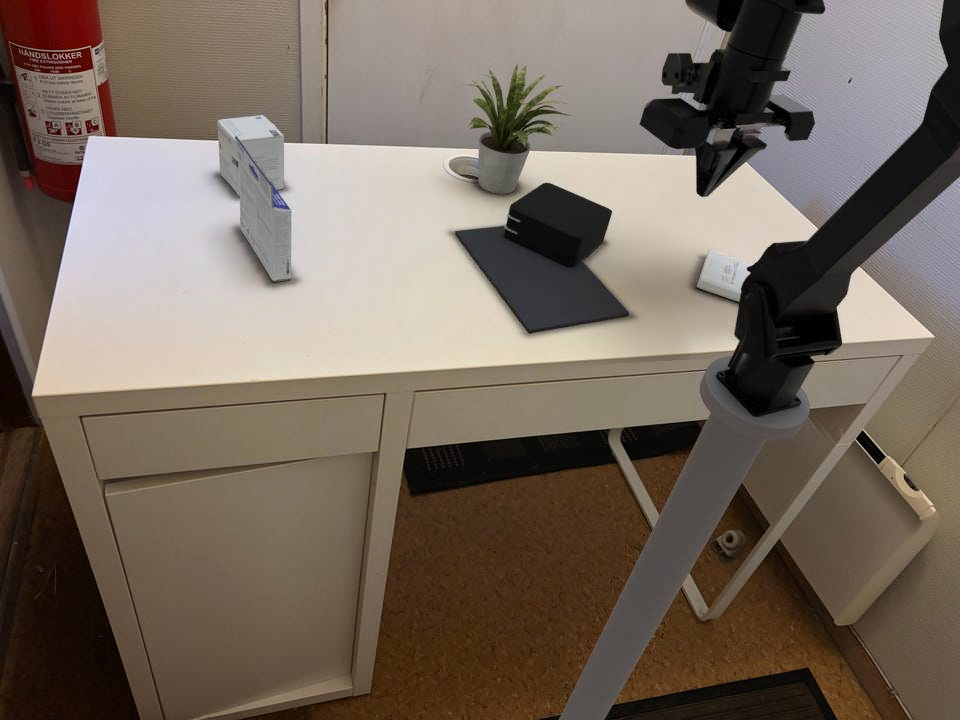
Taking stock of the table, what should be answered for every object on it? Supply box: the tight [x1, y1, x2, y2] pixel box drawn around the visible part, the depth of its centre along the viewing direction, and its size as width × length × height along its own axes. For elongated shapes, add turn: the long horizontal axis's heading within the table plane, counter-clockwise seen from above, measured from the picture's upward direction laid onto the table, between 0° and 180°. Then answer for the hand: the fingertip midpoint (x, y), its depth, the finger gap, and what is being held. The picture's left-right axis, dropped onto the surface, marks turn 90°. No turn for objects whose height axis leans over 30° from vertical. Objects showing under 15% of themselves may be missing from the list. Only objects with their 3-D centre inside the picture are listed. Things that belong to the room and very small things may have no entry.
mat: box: [454, 225, 631, 334], centre depth 89 cm, size 20×13×1 cm, turn 25°
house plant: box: [461, 63, 572, 195], centre depth 98 cm, size 14×14×16 cm
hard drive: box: [696, 249, 755, 303], centre depth 93 cm, size 2×8×12 cm
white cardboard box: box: [216, 114, 285, 197], centre depth 92 cm, size 6×6×7 cm
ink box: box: [235, 136, 292, 282], centre depth 80 cm, size 12×2×12 cm, turn 31°
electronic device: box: [503, 182, 613, 267], centre depth 94 cm, size 4×10×10 cm
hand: (701, 195), depth 82 cm, fingers closed
